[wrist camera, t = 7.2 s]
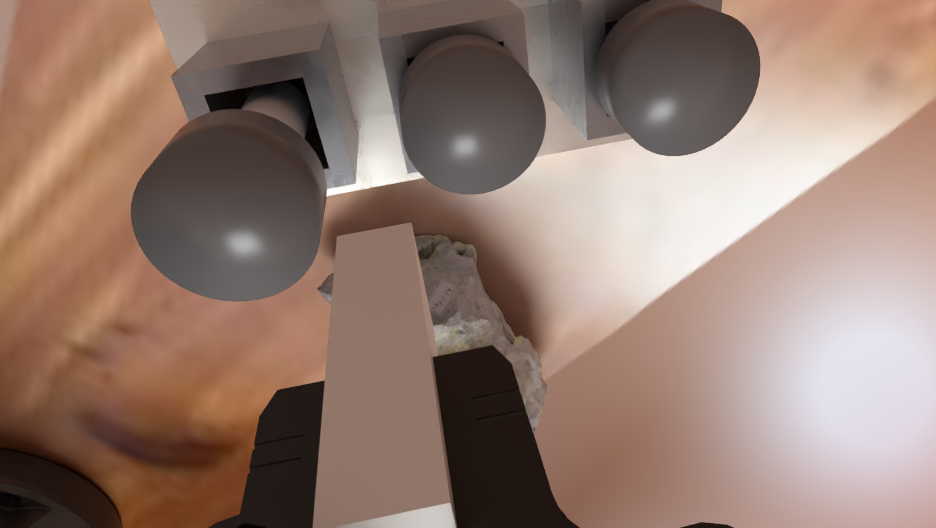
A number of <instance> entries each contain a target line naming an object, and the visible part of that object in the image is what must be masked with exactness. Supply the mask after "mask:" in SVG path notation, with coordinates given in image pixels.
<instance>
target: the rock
mask: <svg viewBox="0 0 936 528" xmlns="http://www.w3.org/2000/svg"><path fill="white" fill-rule="evenodd" d="M415 242H416V247H417V251H418V256H419V261H420V266H421V270H422V275H423V280H424V285H425V289H426V294H427V299H428V304H429V309H430V313H431V318H432V323H433V328H434V334H435V340H436V346H437V353H438V356H440V355H445V354H450V353H455V352H461V351H466V350H471V349H476V348H481V347H486V346H491V345H493V346H494V347H495V348H496V349H497V350H498V351H499V352H500V353H501V354H502V355H503V356H504V357H505V358H507V359H508V360H509V361H510V362H511V363H512V366H513V369H514V373H515V376H516V379H517V382H518V385H519V389H520V393H521V395H522V398H523V402H524V405H525V408H526V413H527V414H528V418H529V421H530V424H531V427H532V431H533V434H534V431H535V428H536V426H537V423H538V421H539V419H540V416H541V412H542V407H543V405H544V398H545V394H546V388H547V384H546V383H545V382H544V380H543V379H542V378H541V367H542V366H541V364H540V355H539V354H538V352H537V351H536V350H535V349H534V348H533V347H532V345H531V343H530V340H529V339H527V338H524V337H522V336H521V335H520V336H518V337H515V335H514V334H513V332H512V330H511V328H510V326H509V325H508V324H507V323H506V322H505V319H504V316H503V313H502V312H501V310H500V309H499V307H498V306H497V304H496V303H495V302H493V301H492V300H491V299H490V298H489V296H488V295H487V294H486V292H485V290H484V287H483V284H482V282H481V279H480V276H479V274H478V271H477V269H476V261H477V251H476V249H475V248H474V246H473V245H467V244H462V243H461V242H459V241H456V242H452V241H451V240H449V238H448V237H446V236H443V235H440V234H438V235H435V236H432V235H422V236H417V237H415ZM333 277H334V273H332V274H331V275H329V276H328V277H327V279H326V280H325V281H324V282H323V284H322V285H321V286H320V287H318V288H317V289H318V291H319V292H320V293H321V294H322V296H323V297H324V298H325V300H326V301H328V302H329V303H330V304H331V301H332V289H333Z"/></svg>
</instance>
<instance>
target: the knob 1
mask: <svg viewBox="0 0 936 528" xmlns="http://www.w3.org/2000/svg"><path fill="white" fill-rule="evenodd" d="M309 121H310V107H309V104H308V101H307V99H306V98H305V96H304V95H303V94H302V92H301V91H300V90H298V89H297V88H296V87H295V86H293V85H291V84H289V83H286V82H283V81H280V82H274V83H269V84H263V85H258V86H257V87H255V88H254V89H253V90H252V92H251V93H250V95H249V96H248V98H247V100H246V101H245V103H244V105H243V106H242V108H241V109H226V110H218V111H214V112H210V113H206V114H204V115H201V116H199V117H197V118H195V119H193V120H192V121H190V122H188V123H187V124H186V125H185V126H183V127H182V128H181V129H180V130H179V131H178V132H177V133H176V134H175V136H174V137H173V138H172V139H171V141H170V142H169V143H168V144H167V145H166V147H165V148H164V149H163V150H162V152H161V153H160V154H159V155H158V157H157V158H156V159H155V160H154V162H153V163H152V164H151V165H150V167H149V168H148V169H147V170H146V171H145V173H144V174H143V176H142V177H141V179H140V180H139V182H138V184H137V186H136V189H135V191H134V194H133V198H132V203H131V219H132V226H133V230H134V233H135V236H136V239H137V241H138V243H139V245H140V247H141V249H142V250H143V252H144V254H145V255H146V257H147V258H148V259H149V260H150V262H151V263H152V264H153V265H154V266H155V267H156V268H157V269H158V270H159V271H160V272H161V273H162V274H163V275H165V276H166V277H167V278H168V279H170V280H171V281H173V282H174V283H176V284H177V285H179V286H181V287H183V288H185V289H187V290H189V291H191V292H193V293H196V294H199V295H201V296H205V297H208V298H212V299H217V300H223V301H252V300H259V299H263V298H267V297H270V296H273V295H275V294H278V293H280V292H282V291H284V290H286V289H288V288H289V287H290V286H292V285H293V284H295V283H296V282H297V281H298V280H299V279H300V278H301V277H303V275H304V274H305V273H306V272H307V271H308V269H309V268H310V266H311V264H312V263H313V261H314V259H315V256H316V254H317V251H318V247H319V243H320V236H321V230H322V224H323V217H324V211H325V205H326V197H327V184H326V178H325V173H324V170H323V167H322V164H321V162H320V160H319V158H318V156H317V155H316V153H315V151H314V150H313V149H312V147H311V146H310V144H309V143H308V142H307V141H306V140H305V136H306V132H307V129H308V125H309Z"/></svg>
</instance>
